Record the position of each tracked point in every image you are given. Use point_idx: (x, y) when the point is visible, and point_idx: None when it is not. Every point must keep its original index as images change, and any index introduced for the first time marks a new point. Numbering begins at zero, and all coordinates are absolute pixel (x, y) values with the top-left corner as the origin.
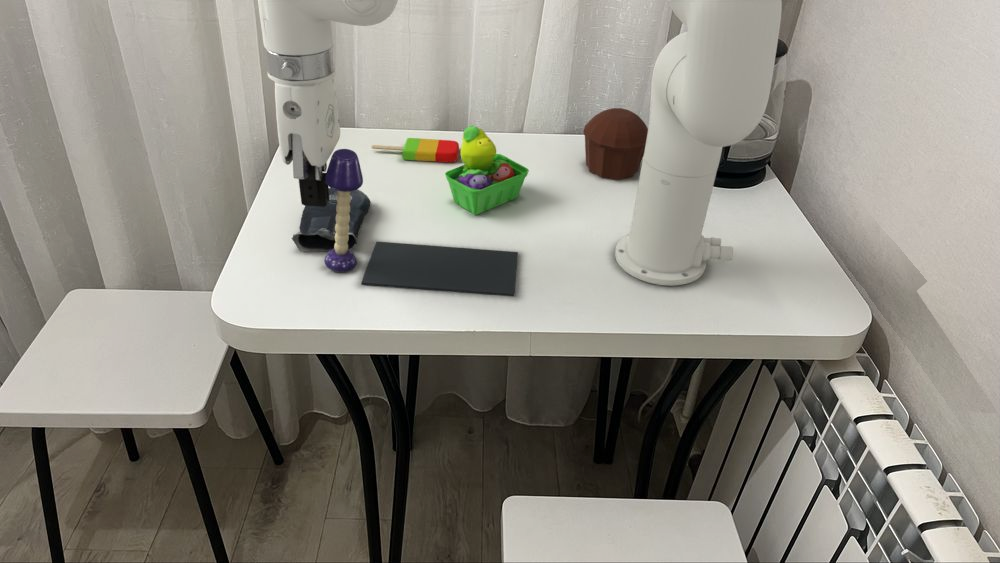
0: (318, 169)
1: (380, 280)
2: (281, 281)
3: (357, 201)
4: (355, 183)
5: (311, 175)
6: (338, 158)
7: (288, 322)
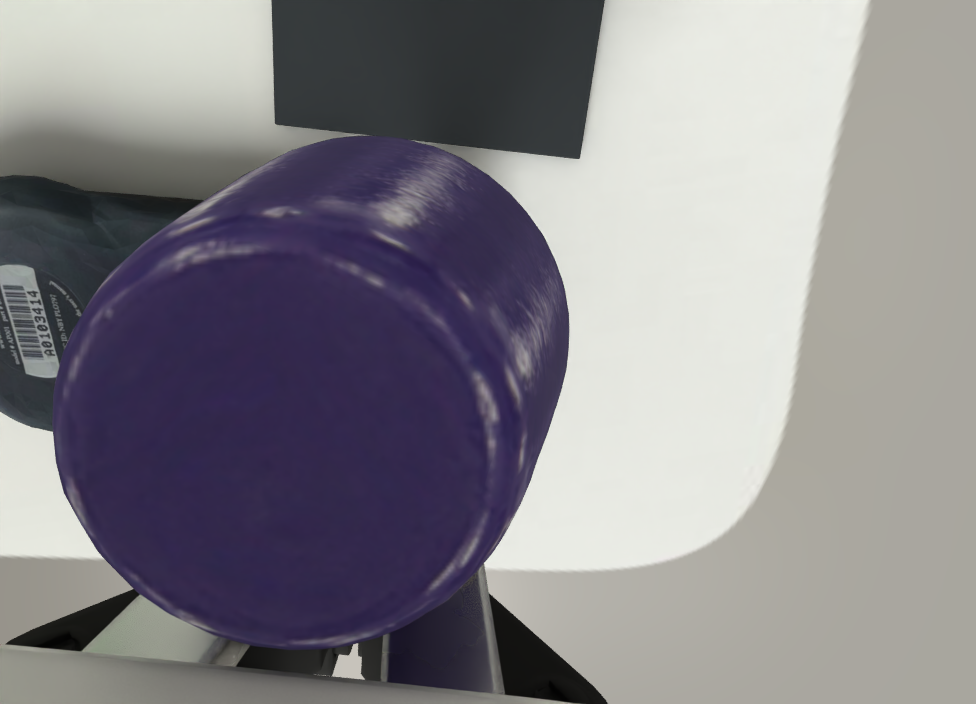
0: (478, 643)
1: (569, 76)
2: (548, 432)
3: (36, 234)
4: (509, 206)
5: (576, 672)
6: (476, 554)
7: (772, 378)
